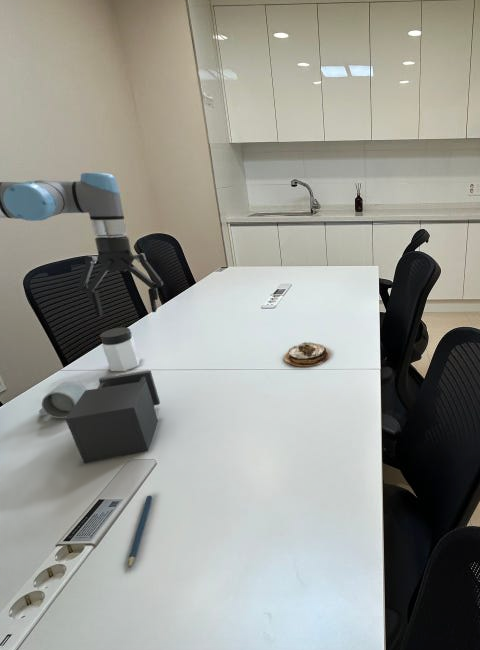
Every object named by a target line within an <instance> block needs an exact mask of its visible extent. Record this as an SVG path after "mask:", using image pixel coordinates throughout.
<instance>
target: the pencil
mask: <svg viewBox="0 0 480 650" xmlns="http://www.w3.org/2000/svg"><path fill="white" fill-rule="evenodd" d="M152 499H153V496H152V495H147V496H146V499H145V502H144V504H143V505H144V506H143V509H142V513H141V516H140V519H139V522H138V526H137V529H136V532H135V536H134V539H133V543H132V545H131V550H130V553H129V557H128V568H129V569H130V568H131V566H132V564H133V562H134V561H135V559H136V556H137V552H138V549H139V546H140V542H141V539H142V535H143V531H144V527H145V525H146V522H147V521H146V520H147V517H148V513H149V509H150V506H151V503H152Z"/></svg>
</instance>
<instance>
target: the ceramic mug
mask: <svg viewBox="0 0 480 650" xmlns="http://www.w3.org/2000/svg"><path fill="white" fill-rule="evenodd" d="M85 390H88V389H87V387H86V386H85V385H84V384H83V383H82V382H80V381H77V380H67V381H63V382H62V383H60V384H59V385H57V386H56V387H55V388H54V389H52V390H51V391H50V392H48V393H47V394H45V396H44V397H43V398H42V400H41V408H40V409H39V410H38V413H39V414H40V415H41V416H47V415H48V416H50V417H52V418H56V419H66V417H67V416H68V415H69V413H70V412H71V410H72V409H73V407H74V406H75V405H76V403H77V402H78V400H79V399H80V397H81V396H82V395H83V393H84V392H85Z"/></svg>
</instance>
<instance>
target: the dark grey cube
mask: <svg viewBox="0 0 480 650" xmlns="http://www.w3.org/2000/svg"><path fill="white" fill-rule="evenodd" d="M64 419H65V421H66V422H65V423H66V424H67V427H68V429H69V431H70V433H71V436H72V438H73V441H74V443H75V445H76V448H77V450H78V452H79V455H80V457H81V460H82V462H83V464H88V463H92V462H97V461H102V460H107V459H112V458H117V457H118V458H119V457H122V456H123V457H124V456H128V455H133V454H138V453H142V452H148V451H149V450H150V447H151V443H152V440H153V437H154V434H155V432H156V428H157V425H158V422H159V419H158V417H157V413H156V409H155V405H154V406H153V403H152V400H151V396H150V393H149V390H148V387H147V383H146V381H142V382H136V383H129V384H123V385H117V386H110V387H104V388H98V387H97V388H92V389H87V390H85V392H84V393H83V395H82V396H81V397H80V399H79V400H78V402H77V403H76V405H75V406H74V407H73V409H72V410H71V412H70V413H69V415H68V416H67V417H66V418H64Z"/></svg>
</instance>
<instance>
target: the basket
mask: <svg viewBox="0 0 480 650" xmlns="http://www.w3.org/2000/svg"><path fill="white" fill-rule="evenodd" d="M142 381H146V383H147V387H148V390H149V393H150V396H151V400H152V403H153V406H154V407H155V406H159V405H160V404H161V401H160V397H159V394H158V391H157V387H156V385H155V380H154V377H153V374H152V371H151V369H150V370H149V369H143V370H137V371H136V370H135V371H129V372H123V373H119V374H118V375H111V376H104V377H103V376H102V377H100V378H99V379H98V382H99V383H98V384H99V385H98V386H97V388H104V387H110V386H117V385H123V384H129V383H136V382H142Z"/></svg>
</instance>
